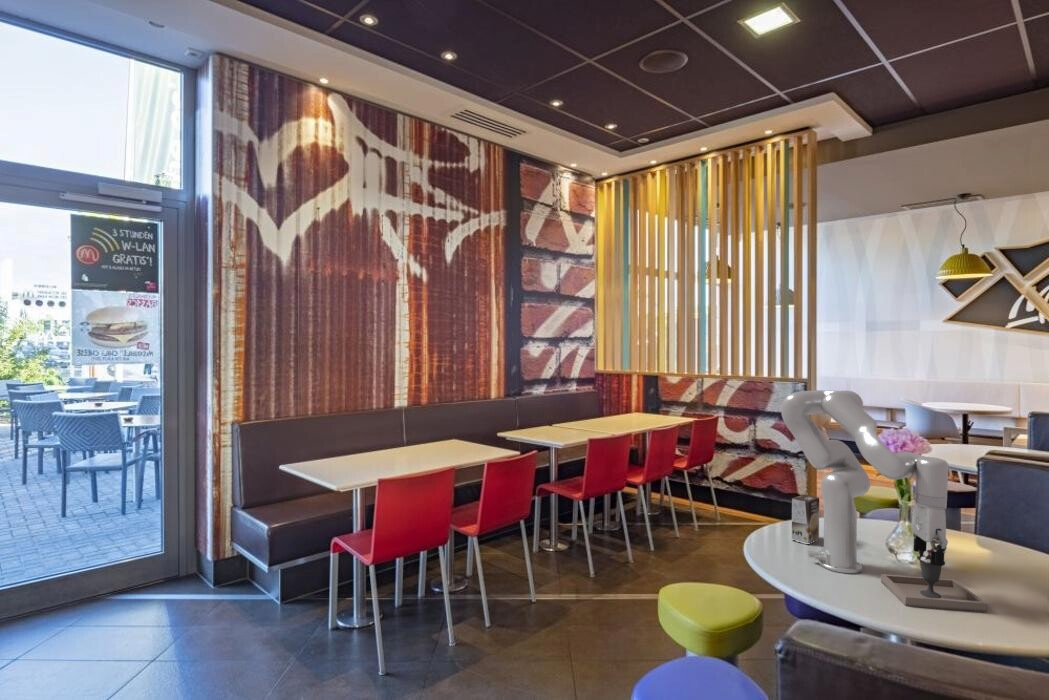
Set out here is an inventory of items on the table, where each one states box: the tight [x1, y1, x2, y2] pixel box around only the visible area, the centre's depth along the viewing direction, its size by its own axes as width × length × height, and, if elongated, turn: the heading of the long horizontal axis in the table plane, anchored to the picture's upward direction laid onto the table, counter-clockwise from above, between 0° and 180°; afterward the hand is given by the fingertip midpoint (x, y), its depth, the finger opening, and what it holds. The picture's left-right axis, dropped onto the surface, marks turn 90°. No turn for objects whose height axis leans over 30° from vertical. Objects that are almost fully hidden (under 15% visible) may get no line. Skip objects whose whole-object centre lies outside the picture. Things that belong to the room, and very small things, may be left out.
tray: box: [880, 573, 988, 613], centre depth 162 cm, size 20×16×2 cm
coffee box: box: [791, 494, 820, 544], centre depth 208 cm, size 9×6×16 cm
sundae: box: [916, 548, 946, 598], centre depth 162 cm, size 7×7×15 cm
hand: (928, 558), depth 163 cm, fingers open, 9 cm apart
